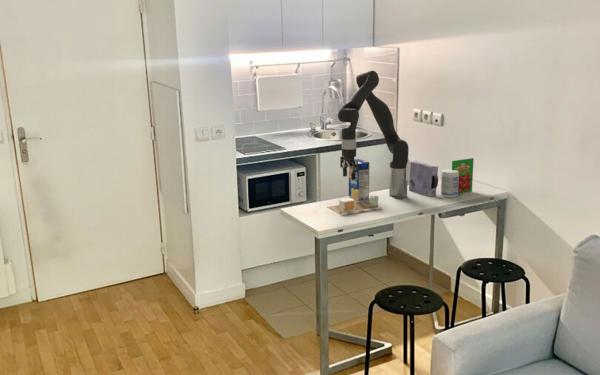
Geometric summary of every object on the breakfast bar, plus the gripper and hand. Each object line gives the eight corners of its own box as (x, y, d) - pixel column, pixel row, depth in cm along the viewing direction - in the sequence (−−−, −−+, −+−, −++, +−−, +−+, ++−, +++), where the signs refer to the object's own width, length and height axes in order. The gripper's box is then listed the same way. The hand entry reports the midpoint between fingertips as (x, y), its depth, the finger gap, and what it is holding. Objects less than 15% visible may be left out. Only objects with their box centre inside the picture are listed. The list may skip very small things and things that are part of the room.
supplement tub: (456, 198, 364) (457, 173, 360) (439, 197, 367) (440, 172, 363) (459, 194, 373) (460, 169, 369) (442, 193, 376) (443, 168, 372)
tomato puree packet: (451, 195, 371) (452, 161, 366) (450, 194, 372) (451, 160, 367) (472, 191, 377) (474, 158, 372) (471, 191, 378) (472, 157, 373)
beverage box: (358, 202, 360) (358, 163, 354) (348, 197, 370) (348, 160, 364) (369, 200, 363) (369, 162, 357) (358, 196, 372) (359, 158, 367)
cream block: (350, 208, 344) (350, 198, 342) (355, 211, 340) (355, 200, 338) (339, 210, 341) (339, 199, 339) (343, 213, 337) (343, 201, 336)
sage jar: (375, 206, 349) (375, 195, 347) (379, 208, 345) (379, 197, 343) (368, 207, 347) (368, 196, 345) (372, 209, 343) (372, 198, 341)
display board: (364, 203, 359) (364, 199, 358) (382, 211, 343) (382, 207, 343) (326, 209, 349) (326, 205, 348) (342, 217, 333) (342, 213, 333)
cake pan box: (438, 196, 370) (439, 165, 366) (431, 197, 367) (433, 167, 363) (414, 189, 385) (415, 160, 381) (408, 190, 383) (409, 161, 378)
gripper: (335, 145, 338) (336, 176, 342) (349, 150, 325) (350, 181, 329) (348, 144, 341) (348, 174, 345) (362, 148, 328) (362, 179, 333)
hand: (349, 178), depth 337 cm, fingers open, 8 cm apart
